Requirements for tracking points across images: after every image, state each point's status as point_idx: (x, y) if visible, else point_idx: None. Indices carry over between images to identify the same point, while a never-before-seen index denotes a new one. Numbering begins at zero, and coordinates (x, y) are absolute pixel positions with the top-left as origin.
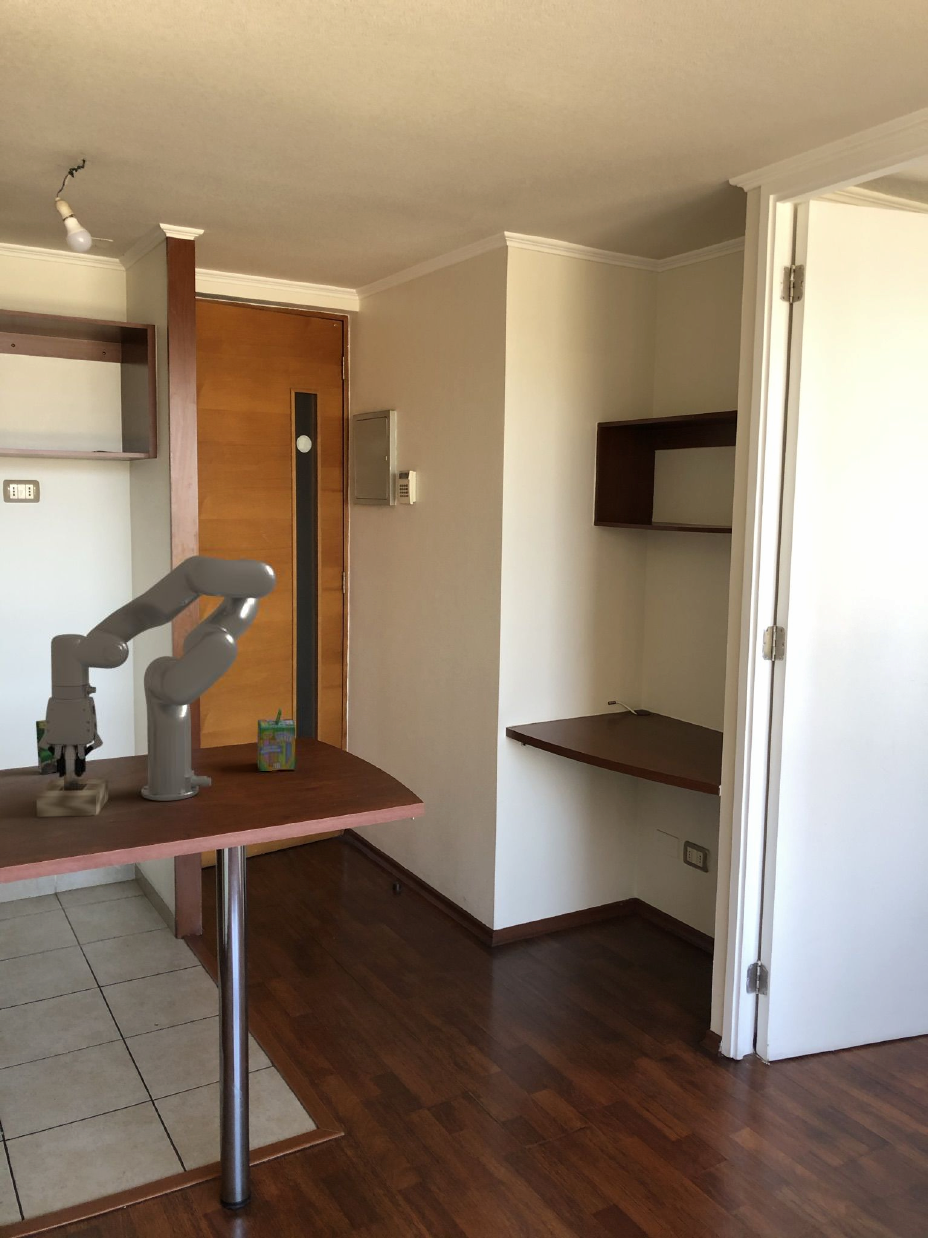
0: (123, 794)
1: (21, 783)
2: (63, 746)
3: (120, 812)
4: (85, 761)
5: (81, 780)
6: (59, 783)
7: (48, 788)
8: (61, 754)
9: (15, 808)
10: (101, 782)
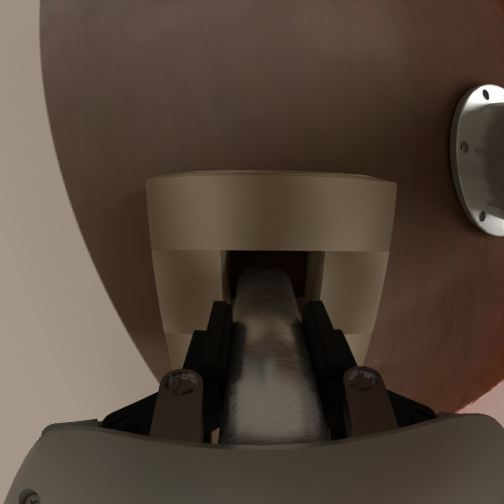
0: (402, 133)
1: (59, 29)
2: (202, 442)
3: (400, 311)
4: (352, 361)
5: (286, 193)
6: (196, 239)
7: (176, 306)
8: (210, 428)
9: (101, 257)
10: (377, 236)
